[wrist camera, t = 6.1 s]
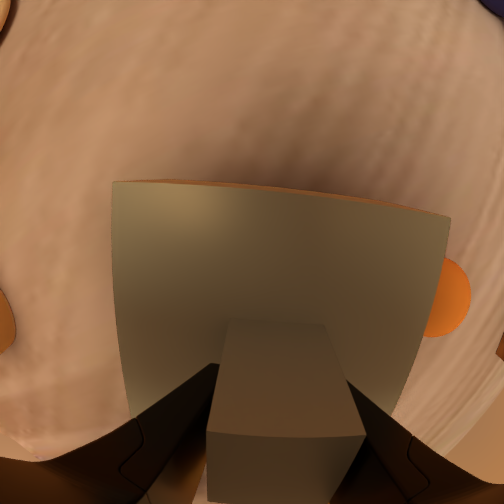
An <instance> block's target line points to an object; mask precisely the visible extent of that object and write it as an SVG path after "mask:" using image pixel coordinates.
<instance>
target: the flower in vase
mask: <svg viewBox="0 0 504 504" xmlns="http://www.w3.org/2000/svg"><path fill="white" fill-rule="evenodd" d="M10 3H11V0H0V32H1V30H2V28H3V25H4V23H5V21H6V18H7V15H8V13H9V9H10Z"/></svg>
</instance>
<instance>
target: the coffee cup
mask: <svg viewBox="0 0 504 504" xmlns="http://www.w3.org/2000/svg"><path fill="white" fill-rule="evenodd" d="M15 336H16V327H15V320H14V317H13V313H12V310H11V307H10V305H9V303H8V301H7V299H6V297H5V295H4V294H3V292H2V291H1V289H0V354H2V353H3V352H4V351H5V350H6V349H7V348H8V347H9V346H10V345H11V344H12V343H13V341H14V339H15Z"/></svg>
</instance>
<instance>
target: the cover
mask: <svg viewBox="0 0 504 504" xmlns="http://www.w3.org/2000/svg"><path fill="white" fill-rule="evenodd" d="M450 223H451V218H450V217H446V216H443V215H439V214H435V213H431V212H427V211H423V210H419V209H414V208H410V207H406V206H402V205H397V204H393V203H388V202H384V201H378V200H372V199H365V198H359V197H352V196H345V195H338V194H330V193H323V192H315V191H307V190H298V189H289V188H280V187H270V186H260V185H249V184H237V183H224V182H210V181H194V180H176V179H162V180H134V181H115V182H113V185H112V217H111V241H112V274H113V291H114V304H115V315H116V325H117V334H118V343H119V350H120V357H121V364H122V371H123V377H124V383H125V388H126V394H127V399H128V404H129V409H130V414H131V418H136V416H137V415H138V414H140V413H141V412H143V411H144V410H146V409H147V408H149V407H150V406H151V405H153V404H154V403H156V402H157V401H159V400H160V399H161V398H163V397H164V396H166V395H167V394H168V393H170V392H171V391H173V390H174V389H175V388H177V387H178V386H180V385H181V384H182V383H184V382H185V381H186V380H188V379H189V378H191V377H192V376H193V375H195V374H196V373H197V372H199V371H200V370H201V369H203V368H204V367H205V366H207V365H208V364H209V363H217V364H220V367H219V372H218V377H217V381H216V386H215V391H214V396H213V401H212V405H211V410H210V415H209V420H208V425H207V430H206V459H207V499H208V501H209V502H217V503H226V504H328V503H329V501H330V500H331V498H332V496H333V495H334V493H335V492H336V490H337V488H338V487H339V485H340V483H341V482H342V480H343V478H344V476H345V475H346V473H347V471H348V469H349V468H350V466H351V464H352V462H353V460H354V458H355V456H356V455H357V453H358V451H359V449H360V447H361V445H362V443H363V441H364V439H365V437H366V432H365V429H364V426H363V424H362V421H361V418H360V415H359V413H358V410H357V407H356V405H355V402H354V399H353V397H352V394H351V392H350V389H349V386H348V384H347V381H346V380H348V381H349V382H350V383H351V384H352V385H353V386H355V387H356V388H357V389H358V390H359V391H361V392H362V393H363V394H364V395H365V396H366V397H368V398H369V399H370V400H371V401H372V402H374V403H375V404H376V405H377V406H378V407H380V408H381V409H382V410H383V411H384V412H386V413H387V414H388V415H389V416H390V417H391V415H392V412H393V410H394V408H395V406H396V404H397V402H398V399H399V397H400V395H401V393H402V390H403V388H404V385H405V383H406V381H407V378H408V376H409V373H410V371H411V368H412V366H413V363H414V360H415V358H416V355H417V352H418V349H419V346H420V344H421V341H422V338H423V335H424V332H425V328H426V325H427V322H428V319H429V316H430V312H431V309H432V305H433V302H434V298H435V294H436V290H437V286H438V282H439V278H440V274H441V270H442V265H443V261H444V256H445V251H446V246H447V240H448V235H449V229H450Z"/></svg>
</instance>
